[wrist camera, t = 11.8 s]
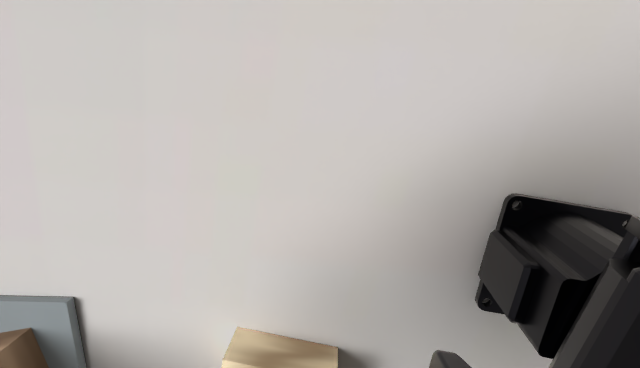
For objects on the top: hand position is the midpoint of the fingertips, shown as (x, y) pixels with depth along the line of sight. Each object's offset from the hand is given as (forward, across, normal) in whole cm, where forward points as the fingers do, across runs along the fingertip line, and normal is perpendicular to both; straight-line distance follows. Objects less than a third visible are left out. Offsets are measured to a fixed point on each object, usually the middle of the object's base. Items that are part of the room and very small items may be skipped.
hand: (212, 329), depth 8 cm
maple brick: (+13, -1, +11) cm, 17 cm away
